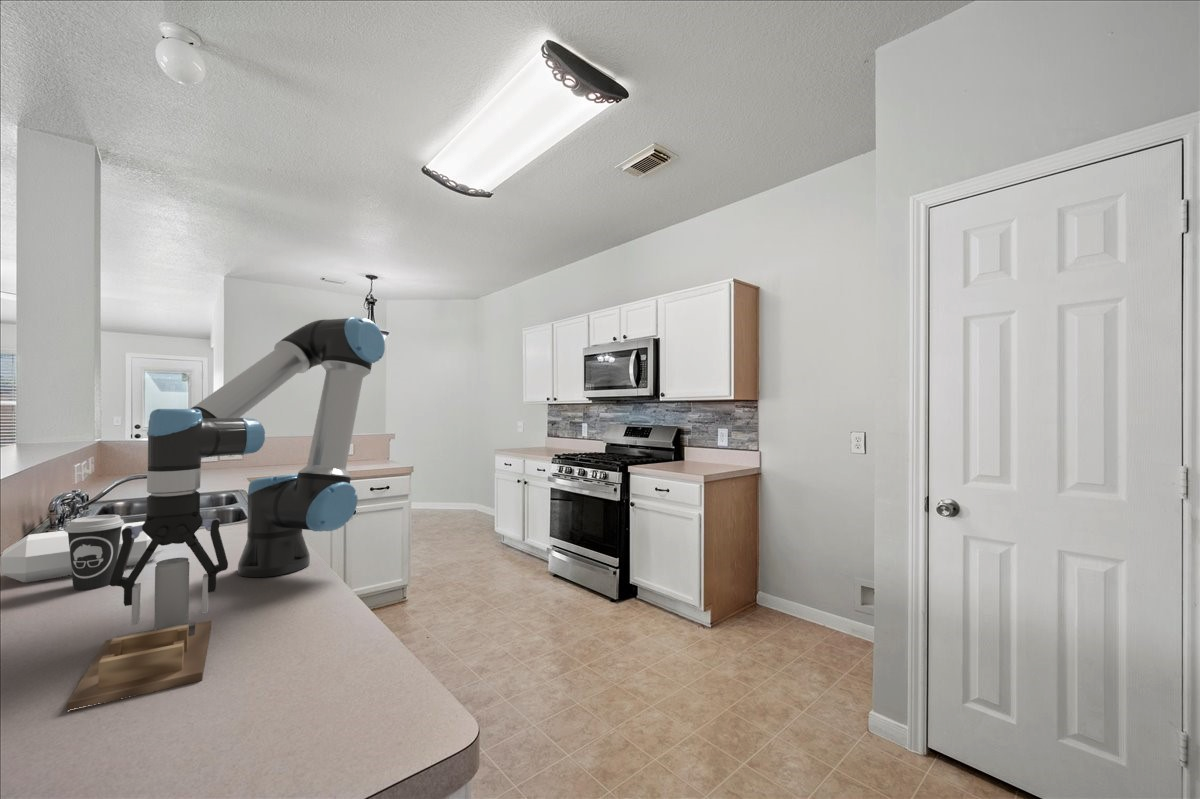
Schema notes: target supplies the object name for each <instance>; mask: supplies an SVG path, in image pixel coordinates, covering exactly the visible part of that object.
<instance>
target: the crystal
mask: <svg viewBox="0 0 1200 799" xmlns="http://www.w3.org/2000/svg"><path fill="white" fill-rule="evenodd" d="M144 523H145V521H138V522H137V521H136V522H127V523H124V524H125V525H123V526H122V528H121V535H120V542H119V549H118V556H119V553H120V550H121V547H122V544H123V539H122V530H123V529H124V528H125V527H127V526H132V527H134V526H139V525H143V524H144ZM151 541H152V539H151V538H150V537H149V536H148V535H147V534H146V533H145V532H144V531H142V532H140V534H139V536H138V537H137V538H136V539H134V543H133V546H132V549H131V552H130V555H129V558H128V561H127V564H126V567H132V566H136V564H137V563H138V561H139V560H140V558H141V557H142V555H143V554H144V552H145V550H146V549H147V547H148V546H149V544H150V543H151ZM165 550H166V545H164V546H161V545H158V546H157V548H156V549H155V551H154V553H153V554H152V556H151V557H150V559H149V560H148V562H147V563H149V562H151V560H152V559H154V558H155V557H156V556H158V555H159V554H161V553H162V552H164V551H165ZM118 556H117V559H118ZM0 575H3V576H6V577H8V578H11V579H14V580H16V581H19V582H21V583H24V582H26V583H30V582H31V581H32V582H38V581H44V580H50V579H57V578H62V576H63V577H69V576H68V575H70V576H72V569H71V558H70V548H69V538H68V532H65V530H59V531H58V530H57V531H51V532H50V531H49V532H39V533H31V534H28V535H26V536H24V537H22V538H21V539H19V540H17V542H14V543H13V544H12V545H10V546H8V547H7V548H5V549H4V550H3V552H2V554H1V556H0ZM56 577H57V578H56Z"/></svg>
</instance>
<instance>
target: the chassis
mask: <svg viewBox="0 0 1200 799" xmlns="http://www.w3.org/2000/svg"><path fill="white" fill-rule="evenodd" d="M211 630H212V620H207V621H201V622H195V621H194V622H187V623H186V624H183V625H177V626H172V627H166V628H161V629H151V630H146V631H145V630H144V631H140V632H134V633H130V634H124V635H117V636H116V637H114V638H110V639H105V641H104V642H103V644H102V646H101V647H100V649H99V650H98V652H97V654H96V655H95V657H94V658H93V660H92V661H91V663H90V665H89V667H88V669H87V670H86V672H85V673H84V675H83V676H82V678H81V680H80V681H79V683H78V685H77V686H76V688H75V690H74V691H73V693H72V695H71V696H70V698H68V701H67V702H66V703H67V704H66V711H67V710H70V709H74V708H79V707H83V706H88V705H94V704H98V703H104V702H108V703H111V702H110V701H112V702H115V701H114V700H117V701H119V700H118V699H121V698H125V697H129V696H134V695H138V696H142V695H145V694H150V693H154V691H155V692H158V691H163V690H167V689H171V688H176V687H180V686H184V685H188V684H192V683H193V684H194V683H196V682H201V681H203V678H204V671H205V667H206V666H205V665H206V661H207V660H206V659H207V654H208V648H209V642H210V636H211ZM141 694H142V695H141ZM134 697H135V696H134ZM129 698H130V697H129ZM125 699H126V698H125ZM121 700H122V699H121ZM104 704H105V703H104Z"/></svg>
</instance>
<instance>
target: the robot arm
mask: <svg viewBox="0 0 1200 799" xmlns="http://www.w3.org/2000/svg"><path fill="white" fill-rule="evenodd" d="M385 343H386V342H385V337H384V335H383V333H382V332H381V329H380V327H379V326H378V325H377V323H375V322H374V321H372V320H371V319H369V318H366V317H349V318H347V317H346V318H337V319H336V318H334V319H333V318H332V319H317V320H314V321H312V322H308V323H307V324H305V325H303V326H301V327H299V328H297V329H296V330H294V331H293V332H291V333H290V334H288V335H287V336H285V337H283V338H282V339H281V340H279V341H277V343H275V345H274V347H273V348H274V349H273V350H272V351H271V352H269V353H268V354H267V355H265V356H264V357H262V358H260V360H258V361H256V362H255V363H254V364H252V365H251V366H249V367H248V368H246V369H245V370H244V371H242V372H241V373H239V374H238V375H237V376H235V377H234V378H232V379H231V380H230V381H228V382H227V383H225V384H224V385H222V386H221V387H219V388H218V389H217V390H215V391H214V392H212V393H211V394H209V395H208V396H206V397H205V398H203V399H202V400H201V401H199V402H198V403H196V404H195V405H193V406H192V407H191V408H157V409H154V410H152V411H151V412H150V414H149V420H148V425H147V426H148V427H147V432H146V435H147V470H146V471H147V472H146V492H147V493H148V494H149V495H148V496H147V497H146V509H145V510H146V512H145V513H146V516H145V517H146V518H145V521H144V522H145V523H144V524H143V525H139V526H134V527H132V526H127V527H125V528H124V529H123V530H122V539H123V544H122V547H121V550H120V553H119V556H118V559H117V562H116V565H115V568H114V571H113V574H112V577H111V580H110V585H109V586H110V587H121V588H123V604H124V606H125V607H127V606H128V607H129V606H131V626H137V625H138V624H139V622H140V620H141V588H142V587H141V586H142V584H141V582H137V583H136V580H137V579H139V578H138V577H139V576H140V574H141V573H142V572H143V570H144V568H145V567H146V566H147V564H148V563H149V562H148V560H149V559H150V557H151V556H152V554H153V553H154V551H155V549H156V548H157V546H158V545H161V546H164V545H165V546H168V545H171V544H174V545H179V544H186V545H187V547H188V548H190V550H191V551H192V553H193V554H194V555H195V557H196V559H197V560H198V562H199V563H200V565H201V566H202V568H203V569H204V571H205V572H206V573H203V576H202V596H201V597H202V598H201V600H202V602H201V603H202V605H201V614H203V613H204V614H205V613H208V610H209V594H210V593H214V592H216V588H217V575H218V573H221V572H223V571H224V572H225V571H226V570H228V569H229V568H228V567H229V562H228V561H229V560H228V559H227V554H226V550H225V547H224V544H223V541H222V537H221V533H220V522H221V518H220V517H215V518H205V519H204V518H203V517H202V515H201V511H200V510H201V493H200V492H199V491H197V490H199V489H200V488H201V472H202V471H201V467H202V464H201V463H202V458H204V459H205V458H212V457H226V456H244V455H248V454H254V453H257V452H258V451H260V449H261V448H262V447H263V446H264V444H265V441H266V440H265V439H266V432H265V428H264V426H263V423H261V422H260V421H259V420H257V419H255V418H249V417H242V416H243V415H246V413H247V412H249V411H250V410H252V409H253V408H254V407H255V406H257V405H258V404H259V403H261V401H263V400H265V399H266V398H267V397H268V396H270V395H271V393H273V392H275V391H277V389H278V388H280V387H281V386H283V385H284V384H285V383H287V382H288V381H289V380H291V379H292V378H293V377H294V376H295V375H297V374H304V373H306V372H308V371H309V370H310V369H312V368H313V367H317V366H320V365H321V367H322V368H323V369H324V371H325V376H324V381H323V386H322V390H321V391H322V392H321V396H320V399H319V400H320V401H319V405H318V409H317V415H316V419H315V425H314V430H313V434H312V440H311V445H310V449H309V454H308V458H307V463H306V466H304V467H303V468H301V469H300V470H299V471H298V472H297V473H291V474H284V475H276V476H275V475H274V476H268V477H261V478H260V477H259V478H256V479H253V480H251V481H250V482H249V484H248V489H247V490H248V491H247V495H246V497H247V529H246V530H247V535H246V536H247V537H246V538H247V539H246V543H245V545H244V548H243V550H242V553H241V556H240V558H239V561H238V564H237V574H238V576H241V577H246V578H266V577H273V576H275V577H276V576H279V575H280V576H282V575H285V574H290V573H294V572H297V571H300V570H303V569H304V568H306V567H308V566H309V565H310V563H311V560H310V558H311V555H310V551H309V549H308V546H307V544H306V540H305V537H304V536H303V530H307V531H312V532H333V531H335V530H336V531H337V530H338V529H341V528H342V527H344V526H345V524H346V523H348V522H349V521H350V519H352V517H353V515H354V513H355V512H356V509H357V506H358V500H359V499H358V498H359V497H358V493H356V488H355V487H354V486H353V485H352V484H351V480H352V479H351V478H352V475H351V474H350V473H349V472H348V470H347V464H348V460H349V454H350V449H351V444H352V438H353V431H354V427H355V422H356V416H357V411H358V406H359V405H358V404H359V402H360V401H359V400H360V394H361V389H362V386H363V385H362V384H363V379H364V378H365V377H366V376H369V375H370V374H371V371H372V365H373V364H375V363H378V362H379V361H380V359H382V358H383V357H384V355H385V354H384V353H385V349H386V344H385ZM202 526H204V528H205V530H206V531H207V532H210V534H209V535H210V539H211V541H212V545H213V550H214V552H215V556H216V560H217V564H216V565H215V564H214V562H213V560H212V559H211V557H210V556H209V555H208V554H207V552H206V550H205V548H204V547H203V545H202V544H201V542H199V539H198V537H197V535H196V534H195V533H197V531H198V530H199V529H200V528H201V527H202ZM142 531H144V532H145V533H146V534H147V535H148V536H149V537H150V538H151V539H152V541H151V543H150V544H149V546H148V547H147V549H146V550H145V552H144V554H143V555H142V557H141V558H140V560H139V561H138V563H137V564H136V565H134V567H133V569H132V571H131V572H130V573H129V575H128V577H126V576H123V575H124V573H125V571H126V567H127V566H126V564H127V561H128V558H129V555H130V552H131V549H132V546H133V543H134V539H136V538H137V537H138V536H139V534H140V532H142Z"/></svg>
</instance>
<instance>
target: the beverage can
mask: <svg viewBox="0 0 1200 799" xmlns="http://www.w3.org/2000/svg"><path fill="white" fill-rule="evenodd" d="M189 560H190V558H189V557H173V558H168V559H163V560H162V559H161V560H159V561H157V562H156V564H155V565H156V566H155V567H154V627H153V628H154V630H156V629H161V628H166V627H172V626H177V625H183V624H188V623H189V609H190V608H189V604H190V602H189V599H190V598H189V597H190V561H189Z"/></svg>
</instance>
